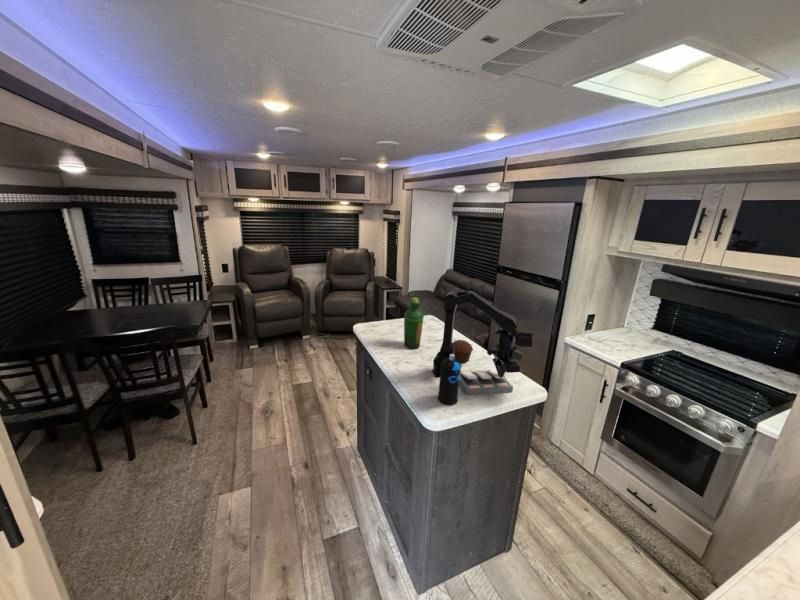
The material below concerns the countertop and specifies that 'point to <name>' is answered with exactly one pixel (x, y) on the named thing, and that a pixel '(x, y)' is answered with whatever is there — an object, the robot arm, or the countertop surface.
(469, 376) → the rocker
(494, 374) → the rocker
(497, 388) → the switch unit
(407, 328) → the bottle
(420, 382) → the countertop surface
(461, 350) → the muffin
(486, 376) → the rocker
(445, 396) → the aerosol can
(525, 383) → the countertop surface
